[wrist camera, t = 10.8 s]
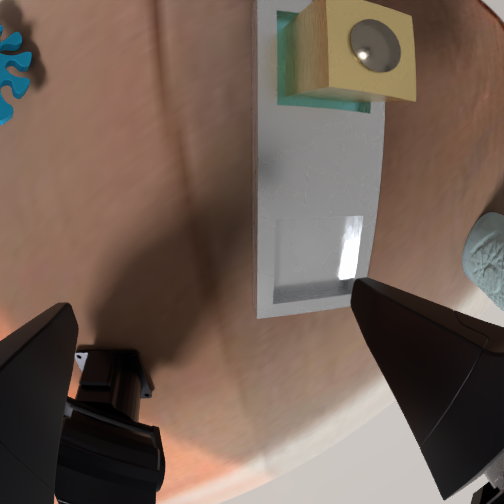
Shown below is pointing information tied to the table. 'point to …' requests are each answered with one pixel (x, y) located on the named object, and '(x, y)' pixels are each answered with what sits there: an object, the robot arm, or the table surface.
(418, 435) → the robot arm
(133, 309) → the table surface
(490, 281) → the embossed vase
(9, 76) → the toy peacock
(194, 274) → the table surface
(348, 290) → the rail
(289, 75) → the block
